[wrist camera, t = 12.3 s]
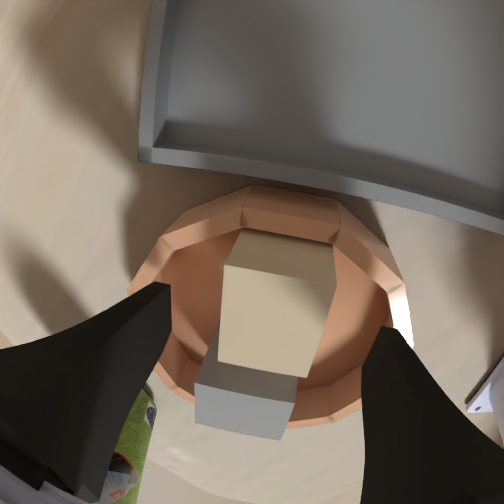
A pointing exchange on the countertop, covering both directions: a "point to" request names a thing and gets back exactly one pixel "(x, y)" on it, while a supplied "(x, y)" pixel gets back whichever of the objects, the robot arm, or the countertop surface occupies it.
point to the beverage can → (129, 454)
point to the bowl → (341, 311)
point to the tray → (334, 97)
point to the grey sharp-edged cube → (242, 396)
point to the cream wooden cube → (275, 301)
